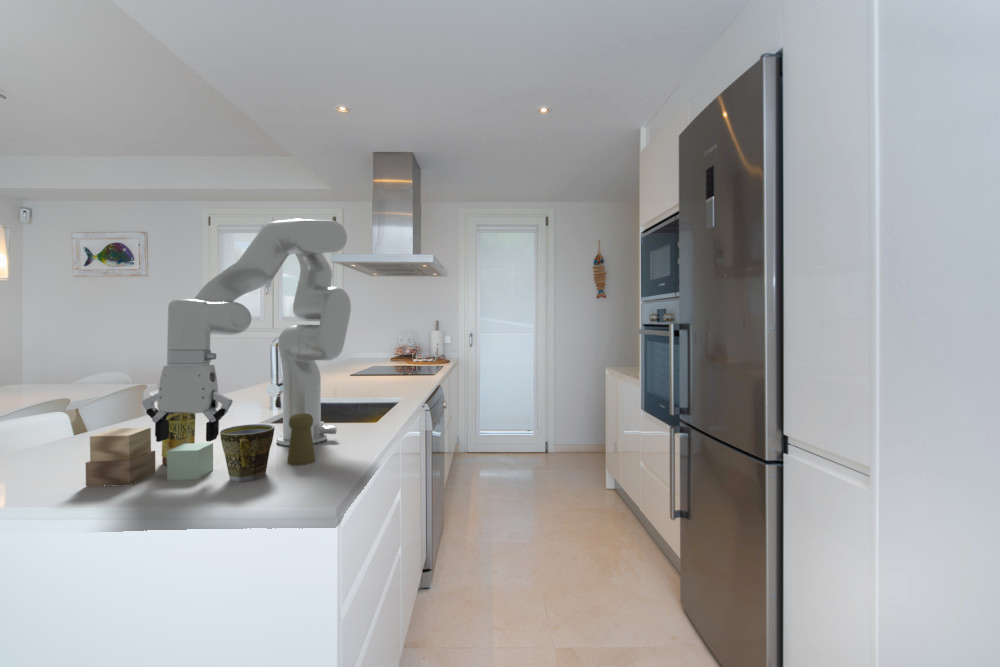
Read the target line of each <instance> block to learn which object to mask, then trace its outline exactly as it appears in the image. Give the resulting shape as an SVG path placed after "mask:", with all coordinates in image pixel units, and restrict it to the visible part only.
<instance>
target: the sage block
mask: <svg viewBox="0 0 1000 667" xmlns="http://www.w3.org/2000/svg"><path fill="white" fill-rule="evenodd" d="M210 471H211V472H212V471H214V442H203V443H200V442H197V443H196V442H195V443H189V444H182V445H179V446H177V447H175V448H173V449H170V450H168V451H167V465H166V474H167V475H166V479H167V481H171V480H172V481H174V480H180V479H181V480H199V479H201V478H202V477H204V476H206V475H208V474H209V473H211V472H210ZM205 474H206V475H205ZM200 477H201V478H200Z"/></svg>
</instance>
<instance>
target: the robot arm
mask: <svg viewBox="0 0 1000 667" xmlns="http://www.w3.org/2000/svg"><path fill="white" fill-rule="evenodd" d="M347 239H348V235H347V232H346V229H345V228H344V226H343V225H342V224H341V223H340V222H338V221H336V220H331V219H329V220H328V219H310V218H309V219H306V218H305V219H304V218H293V219H282V220H275V221H270V222H267V223H266V224H265V225H264V226H262V228H261V229H260V230H259V231H258V233H257V234H256V236H255V237H254V238H253V239H252V241H251V242H250V244H249V245H248V246H247V248H246V249H245V250H244V252H243V254H242V255H241V256H240V257H239V258H238V260H237V261H236V262H235V263H233V264H232V265H230V266H228V267H227V268H226V269H224V270H223V271H222V272H220V273H219V274H217V275H216V276H214V277H213V278H212V279H211V280H209V281H208V282H207V283H206V284H205V285H204V286H202V288H201V289H200V290H199V291H198V293H197V295H195V297H194V298H193V299H191V298H187V299H186V298H179V299H176V298H175V299H173V300H171V301H170V302H169V303H168V305H167V307H168V309H167V336H166V337H167V339H166V340H167V341H166V342H167V344H166V345H167V347H166V349H167V350H166V364H164V365H163V367H162V370H161V374H160V379H159V382H158V384H159V385H158V392H157V393H155V394H153V395H151V396H149V397H147V398H145V399H143V400H142V402H141V403H142V407H144V410H145V413H146V414H147V415H148V416H149V418H151V421H152V422H153V423H154V424H155V425H154V437H155V441H156V442H157V443H158V442H159V443H160V442H161V443H162V441H163V440H166V439H168V438H169V420H166V418H167V417H168V416H169V415H170V414H171V413H195V414H203V415H204V416H205V418H206V419H207V420H208V421H207V422H206V423H205V424H206V425H205V441H206V442H212V441H214V440H216V439H217V438H218V436H219V435H220V431H219V429H220V427H219V426H220V420H222V418H224V416H225V415H226V414H227V413H228V412H229V409H230V407H231V406H232V404H233V402H234V401H233V400H232V398H230V397H227V396H225V395H223V394H221V393H219V387H218V377H217V372H216V371H217V370H216V368H215V364H211V362H212V360H216V359H217V353H215V352H212V349H211V335H218V336H232V335H233V336H234V335H239V334H241V333H243V332H245V331H247V329H248V328H249V327H250V325H251V323H252V314H251V311H250V309H248V307H246V306H245V305H244V304H241V303H239V302H236V300H237V299H239V298H241V297H242V296H244V295H247V294H248V293H251V292H253V291H256V290H258V289H261V288H263V287H265V286H267V285H268V284H270V283H271V282H272V281H273V280H274V278H275V276H277V274H278V272H279V270H280V269H281V267H282V266H283V264H284V263H285V262H286V260H287V258H288V257H289V256H290V255H293V254H294V255H295V257H296V258H297V260H298V263H299V267H300V268H299V269H300V271H299V277H298V282H297V287H296V291H295V294H294V298H293V303H292V304H293V305H292V313H293V314H294V316H295V317H296V318H297V319H298V320H301V321H304V322H319V324H294V325H290V326H287V327H286V328H284V329H283V330H282V331H281V333H280V334H279V335H278V336H279V337H278V341H277V343H278V344H277V345H278V352H279V356H280V361H281V368H282V370H281V371H282V434H281V435H279V436H277V437H276V443H277V444H279V445H280V446H290V438H291V431H292V429H291V428H290V426H289V419H290V417H291V416H292V415H295V414H301V413H305V414H310V415H311V416H312V417H313V425H312V426H311V434H312V441H313V445H314V444H317V443H321V441H322V442H324V441H326V440H327V438H328V436H327V434H328V435H337V431H338V430H337V426H334V425H327V426H326V425H325V423H324V422H325V421H321V420H322V419H321V418H322V416H321V415H322V414H321V413H322V412H321V409H322V408H321V407H322V406H321V405H322V404H321V403H322V402H321V401H322V399H321V383H322V382H321V380H322V377H321V372H320V369H319V366H318V364H317V362H316V361H325V362H326V361H333V360H335V359H337V358H338V357H339V356H340V355H341V353H342V351H343V349H344V346H345V341H346V337H347V332H348V328H349V327H348V326H349V322H350V317H351V312H352V310H351V309H352V306H351V305H352V304H351V300H350V296H349V294H348V293H347V292H346V291H345V290H344V289H343V288H341V287H339V286H332V281H333V280H332V279H333V270H332V267H331V265H330V263H329V262H328V260H327V259H326V257H325V255H324V254H326V253H327V254H328V253H338V252H340V251H342V250H343V249H344V248H345V246H346V245H347V241H348V240H347ZM155 403H157V408H156V407H155ZM219 403H220V404H221V406H220V408H219V409H218V407H219ZM217 409H218V410H217Z"/></svg>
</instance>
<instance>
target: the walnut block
mask: <svg viewBox="0 0 1000 667" xmlns="http://www.w3.org/2000/svg"><path fill="white" fill-rule="evenodd" d="M154 474H156V450H151V451H150V452H148V453H146V454H143V455H141V456H139V457H136V458H134V459H132V460H129V461H99V462H90V460H89V461H86V462H85V487H86V486H101V487H108V486H107V485H130V486H132V485H134V484H136V483H138V482H141V481H142V480H144V479H146V478H149V477H150V476H152V475H154ZM137 481H138V482H137ZM135 482H136V483H135ZM131 484H132V485H131ZM104 485H105V486H104Z"/></svg>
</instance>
